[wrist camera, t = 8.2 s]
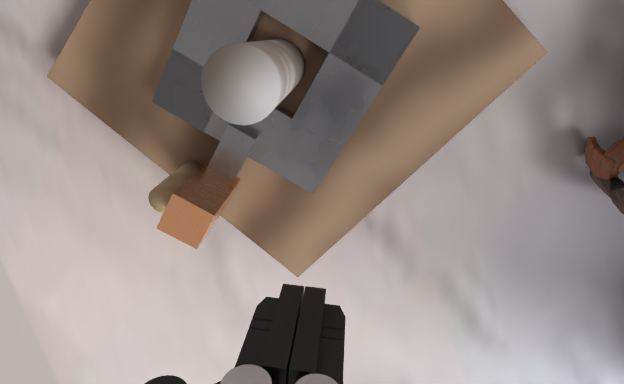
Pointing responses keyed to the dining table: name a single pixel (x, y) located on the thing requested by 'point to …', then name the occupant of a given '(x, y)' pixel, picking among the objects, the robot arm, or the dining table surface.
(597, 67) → the dining table surface
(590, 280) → the dining table surface
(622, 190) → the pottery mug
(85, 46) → the post base
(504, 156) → the dining table surface
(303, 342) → the robot arm
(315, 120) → the knobbed grey plate
